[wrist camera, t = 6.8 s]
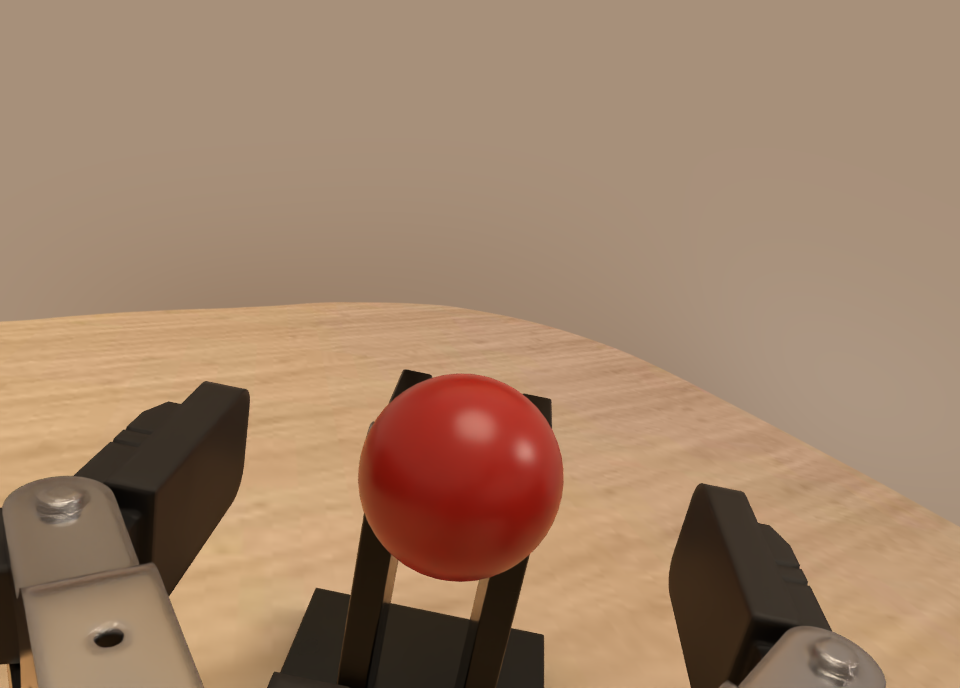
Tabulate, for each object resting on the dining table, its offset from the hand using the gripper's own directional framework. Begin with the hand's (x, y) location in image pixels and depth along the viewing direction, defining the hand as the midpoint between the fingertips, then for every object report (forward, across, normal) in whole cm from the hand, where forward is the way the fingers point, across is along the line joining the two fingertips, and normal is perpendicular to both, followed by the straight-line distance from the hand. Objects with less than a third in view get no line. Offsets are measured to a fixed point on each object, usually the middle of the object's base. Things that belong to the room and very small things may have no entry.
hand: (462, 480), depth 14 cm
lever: (+4, 0, +4) cm, 6 cm away
